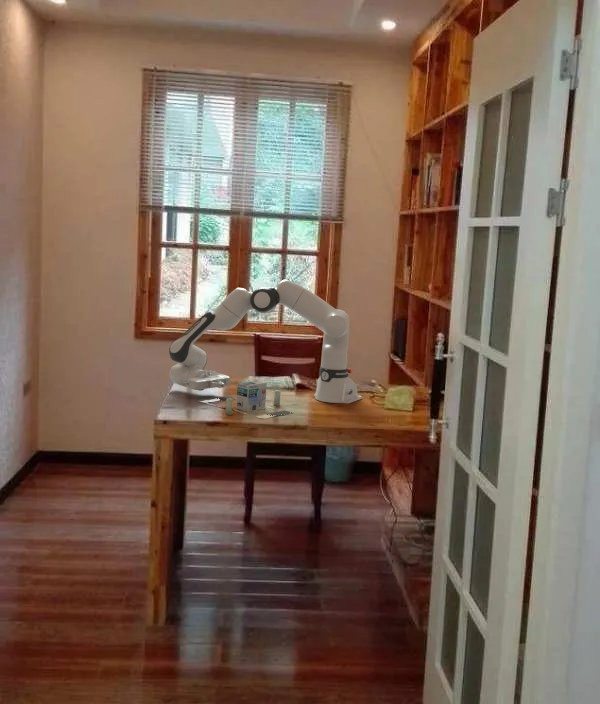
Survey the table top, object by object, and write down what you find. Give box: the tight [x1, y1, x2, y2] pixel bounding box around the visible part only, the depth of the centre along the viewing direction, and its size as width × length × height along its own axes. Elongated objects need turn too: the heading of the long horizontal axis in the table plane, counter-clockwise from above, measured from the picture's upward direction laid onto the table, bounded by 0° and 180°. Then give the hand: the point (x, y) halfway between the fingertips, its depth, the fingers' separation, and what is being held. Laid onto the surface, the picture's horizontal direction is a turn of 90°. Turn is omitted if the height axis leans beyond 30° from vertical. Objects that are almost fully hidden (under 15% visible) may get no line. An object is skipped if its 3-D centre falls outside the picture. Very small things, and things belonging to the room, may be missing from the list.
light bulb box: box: [235, 380, 268, 413], centre depth 318 cm, size 11×7×11 cm, turn 140°
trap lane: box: [216, 389, 293, 417], centre depth 321 cm, size 30×38×6 cm
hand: (222, 385), depth 328 cm, fingers closed
